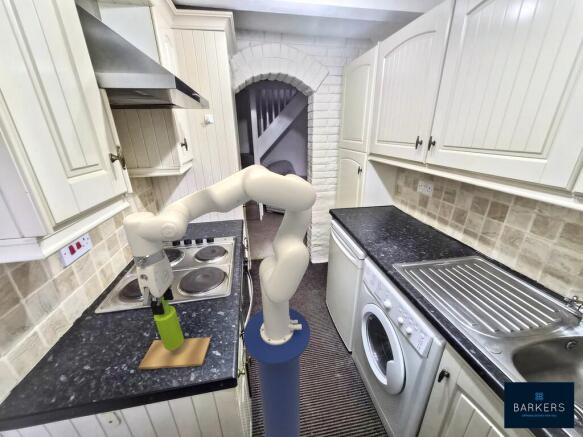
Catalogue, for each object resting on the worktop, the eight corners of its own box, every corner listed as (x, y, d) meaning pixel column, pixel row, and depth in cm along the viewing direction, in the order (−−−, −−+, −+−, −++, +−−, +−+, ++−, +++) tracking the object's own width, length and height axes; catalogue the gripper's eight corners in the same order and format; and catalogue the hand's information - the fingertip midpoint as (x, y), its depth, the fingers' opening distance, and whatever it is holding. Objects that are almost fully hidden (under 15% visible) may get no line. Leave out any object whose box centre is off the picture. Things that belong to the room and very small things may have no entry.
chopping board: (210, 339, 83) (210, 337, 83) (202, 365, 74) (201, 363, 73) (154, 342, 82) (154, 340, 82) (139, 369, 73) (138, 367, 73)
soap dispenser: (180, 329, 80) (167, 284, 72) (185, 343, 75) (172, 296, 67) (162, 338, 77) (145, 292, 69) (166, 354, 72) (149, 305, 64)
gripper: (147, 273, 56) (163, 328, 63) (176, 241, 72) (186, 288, 79) (115, 274, 56) (135, 330, 62) (151, 242, 72) (164, 289, 78)
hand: (163, 306), depth 70 cm, fingers closed on soap dispenser, 5 cm apart
